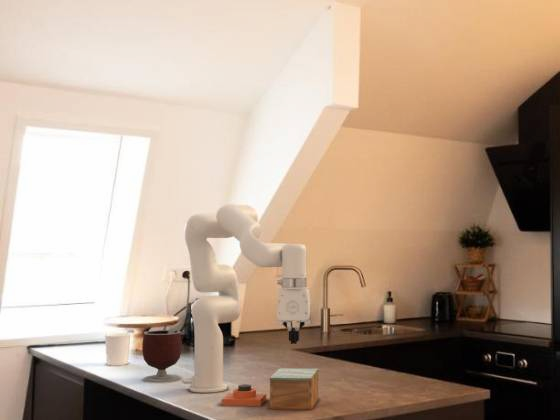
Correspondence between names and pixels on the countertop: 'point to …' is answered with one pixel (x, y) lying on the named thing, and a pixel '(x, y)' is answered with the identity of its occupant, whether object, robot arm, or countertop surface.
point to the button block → (244, 398)
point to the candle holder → (117, 348)
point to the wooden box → (293, 394)
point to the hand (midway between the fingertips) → (293, 343)
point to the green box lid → (294, 374)
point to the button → (244, 387)
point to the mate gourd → (162, 352)
